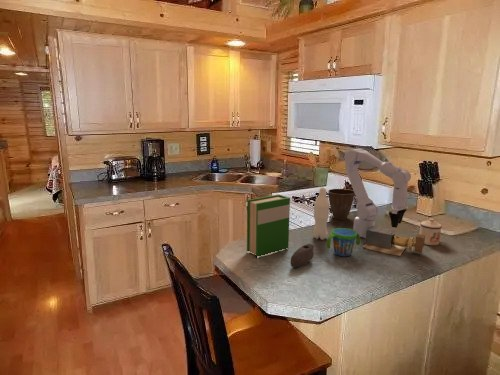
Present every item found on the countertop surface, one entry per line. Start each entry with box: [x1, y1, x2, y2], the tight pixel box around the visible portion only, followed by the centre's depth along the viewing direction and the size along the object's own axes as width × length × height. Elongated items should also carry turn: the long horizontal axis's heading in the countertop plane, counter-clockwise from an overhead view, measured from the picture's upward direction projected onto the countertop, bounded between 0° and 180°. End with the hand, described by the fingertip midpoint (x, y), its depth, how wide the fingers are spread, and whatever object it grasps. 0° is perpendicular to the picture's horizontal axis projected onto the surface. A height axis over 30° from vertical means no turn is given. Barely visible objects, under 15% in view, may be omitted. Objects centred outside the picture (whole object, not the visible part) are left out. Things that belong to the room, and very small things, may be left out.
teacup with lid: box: [419, 218, 443, 246], centre depth 164 cm, size 12×9×12 cm
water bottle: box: [312, 187, 330, 241], centre depth 167 cm, size 7×7×25 cm
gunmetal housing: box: [364, 225, 396, 250], centre depth 159 cm, size 11×7×7 cm, turn 55°
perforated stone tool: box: [290, 243, 315, 269], centre depth 140 cm, size 15×5×7 cm, turn 138°
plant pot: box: [327, 188, 356, 221], centre depth 199 cm, size 15×15×16 cm
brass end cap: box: [391, 233, 425, 254], centre depth 153 cm, size 15×6×8 cm, turn 55°
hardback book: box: [246, 194, 291, 257], centre depth 150 cm, size 18×7×24 cm, turn 126°
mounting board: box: [362, 244, 406, 257], centre depth 159 cm, size 16×14×1 cm
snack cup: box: [326, 227, 361, 257], centre depth 150 cm, size 16×10×10 cm
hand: (396, 225), depth 161 cm, fingers open, 7 cm apart
